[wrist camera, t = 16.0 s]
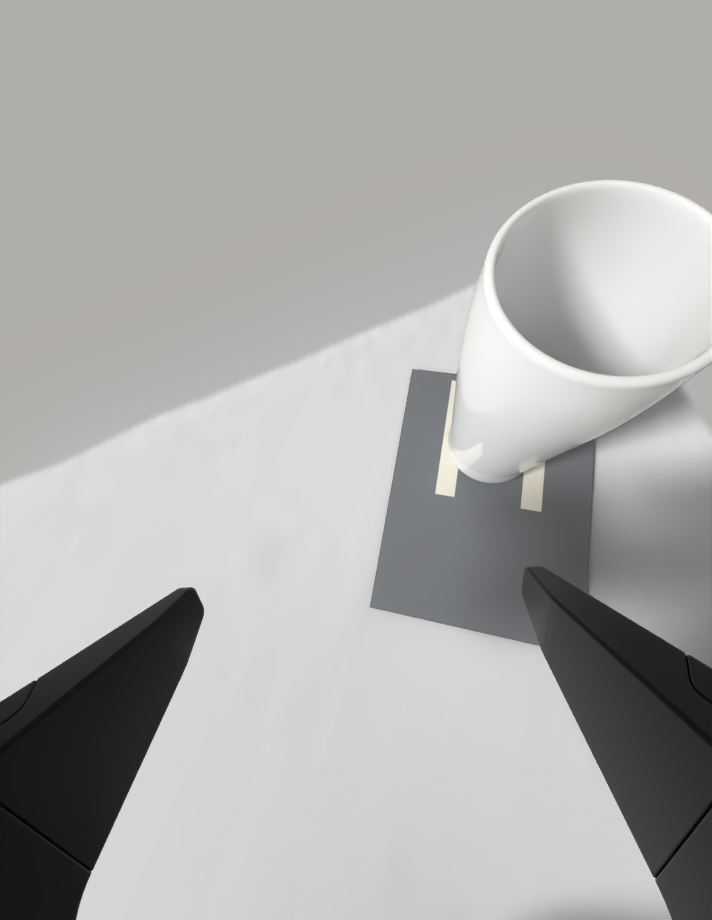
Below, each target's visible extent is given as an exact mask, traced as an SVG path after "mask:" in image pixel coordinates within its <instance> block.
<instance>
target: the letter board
mask: <svg viewBox="0 0 712 920" xmlns="http://www.w3.org/2000/svg"><path fill="white" fill-rule="evenodd" d="M456 379H457V374H448V373H440V372H432V371H423V370H415V369H412V374H411V380H410V385H409V391H408V396H407V402H406V408H405V413H404V419H403V425H402V430H401V436H400V441H399V447H398V453H397V458H396V464H395V469H394V475H393V481H392V486H391V492H390V497H389V503H388V509H387V514H386V520H385V525H384V531H383V537H382V542H381V548H380V554H379V559H378V565H377V570H376V576H375V582H374V587H373V593H372V598H371V604H370V607H371V608H375V609H380V610H384V611H389V612H393V613H398V614H402V615H406V616H411V617H415V618H420V619H424V620H428V621H433V622H437V623H442V624H446V625H450V626H455V627H459V628H464V629H468V630H472V631H477V632H481V633H486V634H490V635H494V636H499V637H503V638H508V639H512V640H516V641H521V642H525V643H530V644H534V645H539V646H540V644H539V642H538V639H537V636H536V633H535V631H534V628H533V625H532V622H531V619H530V617H529V614H528V611H527V608H526V605H525V603H524V600H523V596H522V583H523V574H524V569H525V568H526V567H527V566H542V567H544V568H546V569H548V570H549V571H551V572H553V573H554V574H556V575H558V576H559V577H561V578H562V579H564V580H566V581H567V582H569V583H571V584H572V585H574V586H576V587H577V588H579V589H581V590H582V591H584V592H585V593H587V592H588V569H589V547H590V524H591V502H592V479H593V456H594V439H592V440H590V441H588V442H586V443H584V444H582V445H580V446H577V447H575V448H573V449H571V450H569V451H567V452H564V453H562V454H560V455H558V456H556V457H553V458H551V459H549V460H547V461H545V462H543V463H541V464H539V465H536V466H534V467H532V468H530V469H528V470H526V471H525V472H523V473H522V474H521V475H519V476H518V477H516V478H514V479H512V480H509V481H506V482H502V483H484V482H480V481H477V480H475V479H472V478H470V477H468V476H467V475H465V474H464V473H463V472H462V471H461V470H460V469H459V468H458V467H457V466H456V465H455V463H454V462H453V460H452V458H451V456H450V454H449V450H448V444H447V437H448V431H449V428H450V425H451V420H452V413H453V405H454V397H455V388H456Z"/></svg>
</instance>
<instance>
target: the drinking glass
mask: <svg viewBox="0 0 712 920" xmlns="http://www.w3.org/2000/svg"><path fill="white" fill-rule="evenodd" d="M711 363H712V214H711V213H710V212H709V211H707V210H706V209H705V208H703V207H702V206H700V205H699V204H697V203H695V202H693V201H692V200H690V199H688V198H686V197H684V196H682V195H680V194H678V193H675V192H673V191H670V190H667V189H664V188H661V187H658V186H655V185H650V184H646V183H641V182H635V181H626V180H593V181H586V182H580V183H575V184H570V185H567V186H563V187H560V188H557V189H555V190H552V191H549V192H547V193H545V194H543V195H540V196H539V197H537V198H535V199H533V200H532V201H530V202H529V203H527V204H525V205H524V206H523V207H521V208H520V209H519V210H518V211H516V212H515V213H514V214H513V215H512V216H511V217H510V218H509V219H508V220H507V221H506V222H505V224H504V225H503V226H502V227H501V228H500V230H499V231H498V233H497V235H496V236H495V238H494V239H493V241H492V243H491V245H490V247H489V250H488V253H487V256H486V259H485V263H484V265H483V268H482V271H481V274H480V277H479V280H478V283H477V285H476V288H475V291H474V295H473V298H472V301H471V304H470V308H469V311H468V315H467V319H466V323H465V327H464V332H463V336H462V341H461V347H460V353H459V361H458V369H457V379H456V388H455V397H454V405H453V413H452V420H451V425H450V428H449V431H448V437H447V444H448V450H449V454H450V456H451V458H452V460H453V462H454V463H455V465H456V466H457V467H458V468H459V469H460V470H461V471H462V472H463V473H464V474H465V475H467V476H468V477H470V478H472V479H475V480H477V481H480V482H484V483H502V482H506V481H509V480H512V479H514V478H516V477H518V476H519V475H521V474H522V473H523V472H525V471H526V470H528V469H530V468H532V467H534V466H536V465H539V464H541V463H543V462H545V461H547V460H549V459H551V458H553V457H556V456H558V455H560V454H562V453H564V452H567V451H569V450H571V449H573V448H575V447H577V446H580V445H582V444H584V443H586V442H588V441H590V440H592V439H595V438H597V437H599V436H601V435H603V434H605V433H607V432H609V431H611V430H612V429H614V428H616V427H618V426H620V425H621V424H623V423H625V422H626V421H628V420H630V419H631V418H633V417H635V416H636V415H638V414H640V413H641V412H643V411H645V410H646V409H648V408H649V407H651V406H652V405H654V404H655V403H657V402H658V401H660V400H661V399H663V398H664V397H665V396H667V395H668V394H670V393H671V392H672V391H674V390H675V389H677V388H678V387H679V386H681V385H682V384H683V383H685V382H686V381H687V380H689V379H690V378H691V377H693V376H694V375H695V374H697V373H698V372H699V371H701V370H702V369H704V368H705V367H707V366H708V365H710V364H711Z"/></svg>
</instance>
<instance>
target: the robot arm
mask: <svg viewBox="0 0 712 920" xmlns="http://www.w3.org/2000/svg"><path fill="white" fill-rule="evenodd" d="M522 596H523V600H524V603H525V605H526V608H527V611H528V614H529V617H530V619H531V622H532V625H533V628H534V631H535V633H536V636H537V639H538V642H539V644H540V647H541V650H542V652H543V654H544V656H545V658H546V660H547V662H548V664H549V667H550V669H551V671H552V673H553V675H554V677H555V679H556V681H557V683H558V685H559V687H560V689H561V691H562V693H563V695H564V697H565V699H566V701H567V703H568V705H569V707H570V709H571V711H572V713H573V715H574V717H575V719H576V721H577V723H578V725H579V727H580V729H581V731H582V733H583V735H584V737H585V739H586V741H587V743H588V745H589V747H590V749H591V752H592V754H593V756H594V758H595V760H596V762H597V764H598V766H599V768H600V770H601V772H602V774H603V776H604V778H605V780H606V782H607V784H608V786H609V788H610V790H611V792H612V794H613V796H614V798H615V800H616V802H617V804H618V806H619V808H620V810H621V812H622V814H623V816H624V818H625V820H626V822H627V824H628V826H629V828H630V830H631V832H632V834H633V837H634V839H635V841H636V843H637V845H638V847H639V849H640V851H641V853H642V855H643V857H644V859H645V861H646V863H647V865H648V867H649V869H650V871H651V873H652V875H653V877H655V878H656V879H655V881H656V883H657V885H658V887H659V889H660V892H661V894H662V896H663V898H664V901H665V903H666V905H667V908H668V910H669V913H670V915H671V918H672V920H712V668H710V667H708V666H707V665H705V664H703V663H702V662H700V661H698V660H697V659H695V658H694V657H692V656H690V655H687V656H686V654H685V653H684V652H683V651H681V650H679V649H678V648H676V647H674V646H673V645H671V644H669V643H668V642H666V641H664V640H663V639H661V638H660V637H658V636H656V635H655V634H653V633H651V632H650V631H648V630H646V629H645V628H643V627H641V626H640V625H638V624H636V623H635V622H633V621H632V620H630V619H628V618H627V617H625V616H623V615H622V614H620V613H618V612H617V611H615V610H613V609H612V608H610V607H609V606H607V605H605V604H604V603H602V602H600V601H599V600H597V599H595V598H594V597H592V596H590V595H589V594H587V593H585V592H584V591H582V590H581V589H579V588H577V587H576V586H574V585H572V584H571V583H569V582H567V581H566V580H564V579H562V578H561V577H559V576H558V575H556V574H554V573H553V572H551V571H549V570H548V569H546V568H544V567H542V566H527V567H526V568H525V569H524V574H523V583H522ZM203 616H204V607H203V605H202V603H201V600H200V598H199V596H198V594H197V592H196V590H195V589H194V588H192V587H188V588H179V589H177V590H175V591H174V592H172V593H171V594H169V595H168V596H166V597H165V598H163V599H161V600H160V601H158V602H157V603H155V604H154V605H152V606H151V607H149V608H147V609H146V610H144V611H143V612H141V613H140V614H138V615H136V616H135V617H133V618H132V619H130V620H129V621H127V622H126V623H124V624H122V625H121V626H119V627H118V628H116V629H115V630H113V631H112V632H110V633H108V634H107V635H105V636H104V637H102V638H101V639H99V640H97V641H96V642H94V643H93V644H91V645H90V646H88V647H87V648H85V649H83V650H82V651H80V652H79V653H77V654H76V655H74V656H73V657H71V658H69V659H68V660H66V661H65V662H63V663H62V664H60V665H58V666H57V667H55V668H54V669H52V670H51V671H49V672H48V673H46V674H44V675H43V676H41V677H40V678H38V680H37V681H33V682H31V683H29V684H28V685H26V686H25V687H23V688H22V689H20V690H19V691H17V692H15V693H14V694H12V695H11V696H9V697H7V698H6V699H4V700H3V701H1V702H0V920H76V918H77V913H78V909H79V905H80V901H81V898H82V895H83V892H84V890H85V887H86V884H87V882H88V880H89V877H90V875H91V871H92V870H93V868H94V866H95V864H96V862H97V860H98V858H99V855H100V853H101V851H102V849H103V847H104V844H105V842H106V840H107V838H108V836H109V834H110V831H111V829H112V827H113V825H114V823H115V821H116V818H117V816H118V814H119V812H120V810H121V807H122V805H123V803H124V801H125V799H126V797H127V794H128V792H129V790H130V788H131V786H132V783H133V781H134V779H135V777H136V775H137V773H138V770H139V768H140V766H141V764H142V762H143V759H144V757H145V755H146V753H147V751H148V749H149V746H150V744H151V742H152V740H153V738H154V735H155V733H156V731H157V729H158V727H159V725H160V722H161V720H162V718H163V716H164V714H165V711H166V709H167V707H168V705H169V703H170V701H171V698H172V696H173V694H174V692H175V690H176V687H177V685H178V683H179V681H180V679H181V677H182V674H183V672H184V670H185V667H186V665H187V663H188V660H189V657H190V654H191V651H192V648H193V646H194V643H195V640H196V637H197V634H198V631H199V628H200V625H201V622H202V619H203Z"/></svg>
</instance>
